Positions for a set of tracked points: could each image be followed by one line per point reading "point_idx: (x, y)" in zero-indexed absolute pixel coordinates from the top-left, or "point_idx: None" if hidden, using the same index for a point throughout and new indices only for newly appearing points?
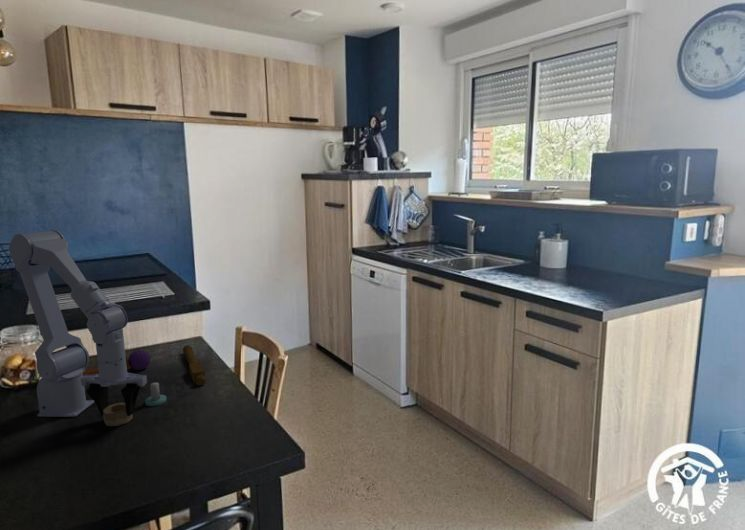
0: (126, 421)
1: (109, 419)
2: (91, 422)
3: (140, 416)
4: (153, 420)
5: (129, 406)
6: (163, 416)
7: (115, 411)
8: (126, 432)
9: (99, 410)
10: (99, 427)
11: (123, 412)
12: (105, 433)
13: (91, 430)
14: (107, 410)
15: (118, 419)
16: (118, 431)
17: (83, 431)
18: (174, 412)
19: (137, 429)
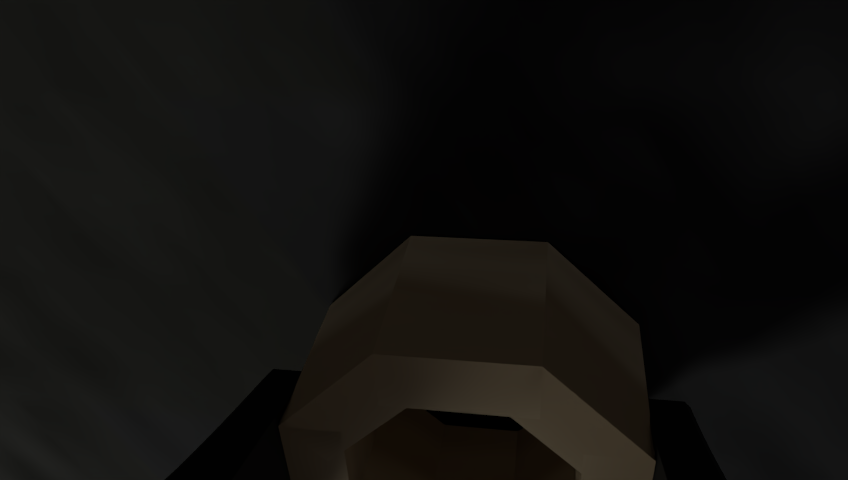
0: (331, 309)
1: (492, 296)
2: (823, 333)
3: None
4: (79, 329)
5: (181, 467)
6: (47, 391)
7: (544, 477)
8: (170, 76)
9: (706, 459)
10: (637, 209)
11: (307, 394)
12: (449, 46)
13: (721, 132)
14: (572, 451)
15: (373, 300)
16: (297, 102)
17: (845, 104)
18: (10, 445)
19: (92, 150)
